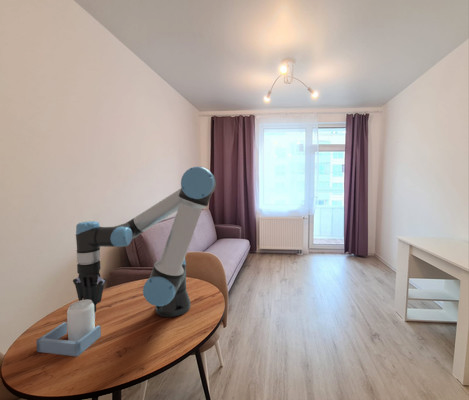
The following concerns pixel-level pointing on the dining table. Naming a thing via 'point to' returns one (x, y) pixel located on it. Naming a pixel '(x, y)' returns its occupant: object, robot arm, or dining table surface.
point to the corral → (64, 347)
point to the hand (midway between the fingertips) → (90, 320)
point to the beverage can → (80, 319)
